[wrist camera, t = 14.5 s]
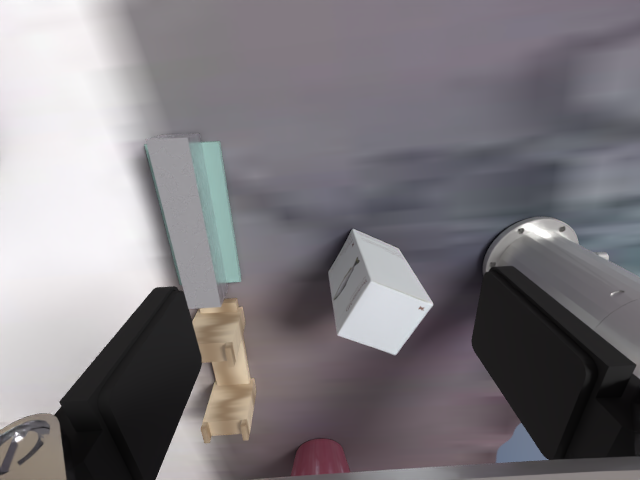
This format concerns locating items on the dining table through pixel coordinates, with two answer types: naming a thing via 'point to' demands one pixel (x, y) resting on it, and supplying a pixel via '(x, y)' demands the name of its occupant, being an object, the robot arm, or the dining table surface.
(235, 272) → the mat
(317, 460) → the plant pot
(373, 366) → the dining table surface
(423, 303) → the supplement box
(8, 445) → the robot arm
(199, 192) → the block
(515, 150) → the dining table surface
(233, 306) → the rack
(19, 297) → the dining table surface
